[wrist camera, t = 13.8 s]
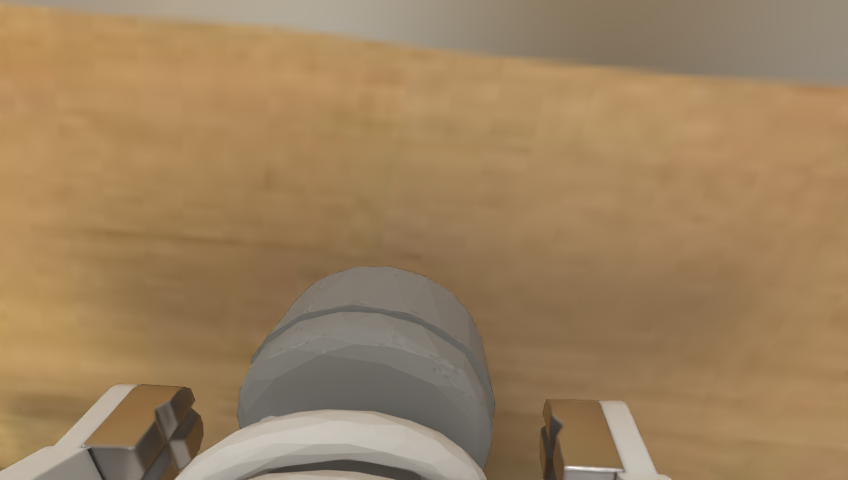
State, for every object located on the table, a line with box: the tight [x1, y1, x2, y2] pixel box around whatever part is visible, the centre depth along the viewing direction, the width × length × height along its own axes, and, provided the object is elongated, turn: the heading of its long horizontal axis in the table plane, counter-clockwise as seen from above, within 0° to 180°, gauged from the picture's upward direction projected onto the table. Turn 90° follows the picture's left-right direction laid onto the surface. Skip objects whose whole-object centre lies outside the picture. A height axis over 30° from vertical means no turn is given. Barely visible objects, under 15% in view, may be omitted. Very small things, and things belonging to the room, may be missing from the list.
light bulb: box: [175, 267, 495, 480], centre depth 8 cm, size 6×6×12 cm
